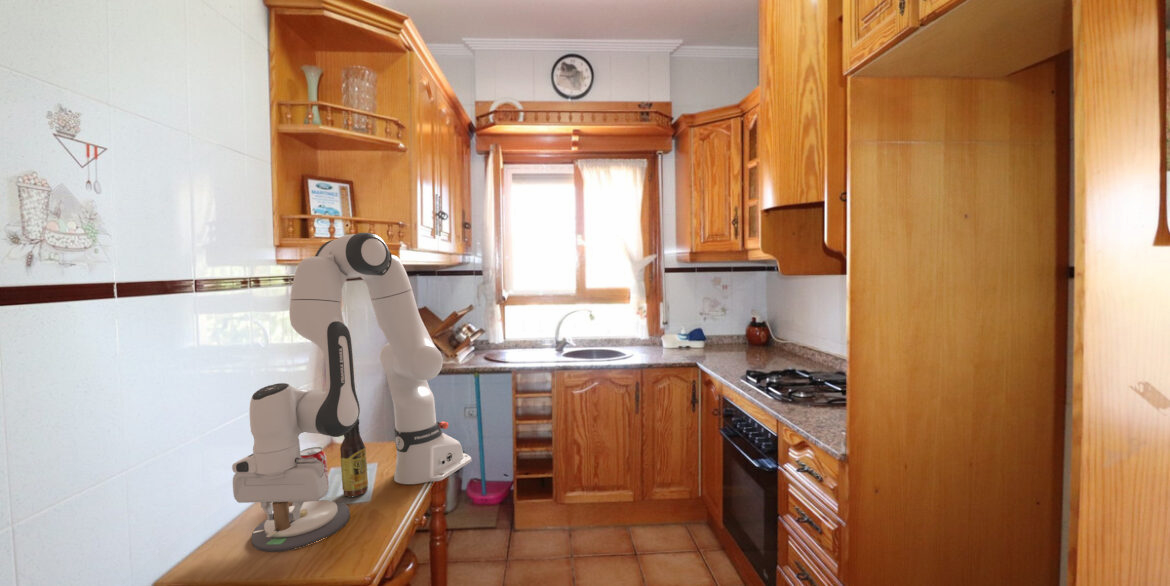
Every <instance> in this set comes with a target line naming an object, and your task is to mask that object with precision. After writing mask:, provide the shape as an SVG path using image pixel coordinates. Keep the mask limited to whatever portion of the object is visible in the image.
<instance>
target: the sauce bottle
mask: <svg viewBox="0 0 1170 586" xmlns="http://www.w3.org/2000/svg"><path fill="white" fill-rule="evenodd" d="M343 437H344V438H343V440H342V442H341V444H340V449H339V450H340V470H341V481H342V485H341V486H342V490H343V495H345V497H346V496H348V497H347V498H353V497H352V496H355V497H358V496H357V495H359V496H361V495H360V494H362V495H364V494H366V492H368V490H369V489H368V488H369V477H368V464H367V463H368V462H367V449H366V448H367V447H366V446H365V444H364V441H363V439H362V437H361V432H360V418H358V420H357V422H356V424H355V425H354V427H353V428H352V429H351V430H350V431H349V432H347V433H346V434H345V435H343ZM363 493H364V494H363ZM349 496H350V497H349Z"/></svg>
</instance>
